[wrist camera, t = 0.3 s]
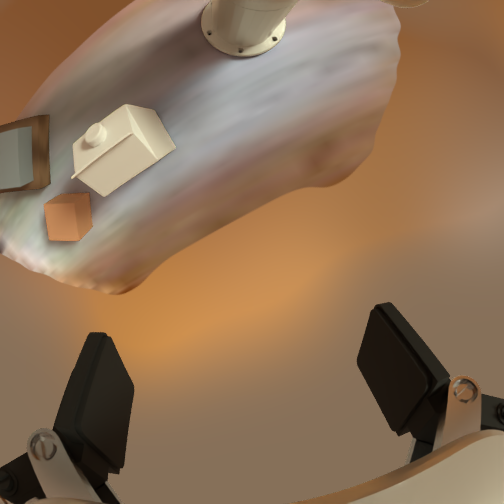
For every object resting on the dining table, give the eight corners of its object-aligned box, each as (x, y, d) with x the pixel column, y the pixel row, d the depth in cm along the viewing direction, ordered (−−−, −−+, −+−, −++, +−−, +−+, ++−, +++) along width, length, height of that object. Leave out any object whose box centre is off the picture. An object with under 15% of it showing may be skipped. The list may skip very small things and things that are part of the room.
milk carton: (176, 147, 39) (149, 167, 22) (138, 172, 39) (89, 209, 22) (154, 109, 35) (111, 100, 18) (116, 135, 36) (53, 148, 19)
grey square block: (-3, 135, 28) (-17, 138, 24) (31, 126, 29) (17, 128, 26) (-1, 184, 32) (-14, 191, 28) (33, 180, 33) (20, 186, 29)
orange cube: (60, 193, 38) (43, 204, 33) (89, 192, 39) (74, 203, 34) (64, 226, 41) (49, 240, 35) (92, 226, 42) (79, 240, 36)
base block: (4, 126, 30) (-9, 128, 27) (50, 114, 32) (38, 115, 29) (7, 187, 35) (-5, 193, 32) (52, 182, 37) (40, 188, 34)
